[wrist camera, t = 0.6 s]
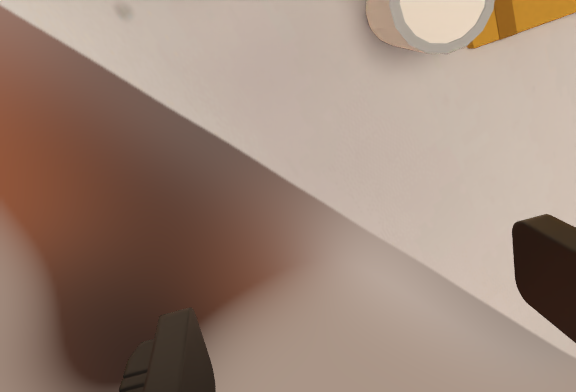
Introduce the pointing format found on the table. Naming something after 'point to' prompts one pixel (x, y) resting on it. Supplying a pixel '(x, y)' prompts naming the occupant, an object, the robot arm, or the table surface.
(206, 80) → the table surface
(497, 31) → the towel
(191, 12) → the table surface
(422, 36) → the beige cup
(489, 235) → the table surface
